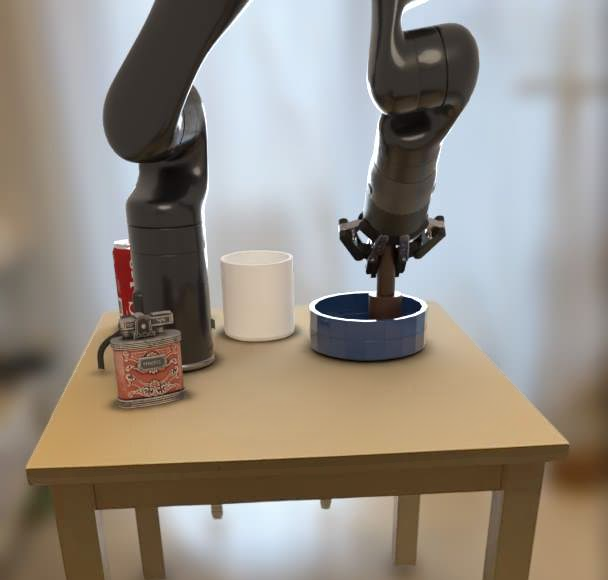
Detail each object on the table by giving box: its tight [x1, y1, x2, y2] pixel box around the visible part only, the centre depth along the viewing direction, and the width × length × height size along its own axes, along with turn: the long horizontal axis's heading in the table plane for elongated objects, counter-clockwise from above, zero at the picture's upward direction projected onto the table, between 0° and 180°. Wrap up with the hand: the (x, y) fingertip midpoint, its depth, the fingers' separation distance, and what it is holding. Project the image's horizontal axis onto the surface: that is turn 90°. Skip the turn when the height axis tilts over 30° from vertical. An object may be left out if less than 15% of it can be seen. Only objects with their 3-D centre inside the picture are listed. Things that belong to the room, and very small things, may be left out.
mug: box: [219, 249, 296, 342], centre depth 125 cm, size 13×10×10 cm
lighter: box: [109, 311, 187, 409], centre depth 100 cm, size 8×3×10 cm, turn 117°
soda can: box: [111, 238, 134, 319], centre depth 127 cm, size 5×5×12 cm
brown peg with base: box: [368, 245, 403, 320], centre depth 115 cm, size 4×4×14 cm
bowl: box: [308, 291, 429, 362], centre depth 118 cm, size 15×15×6 cm
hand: (383, 271), depth 117 cm, fingers closed on brown peg with base, 2 cm apart
